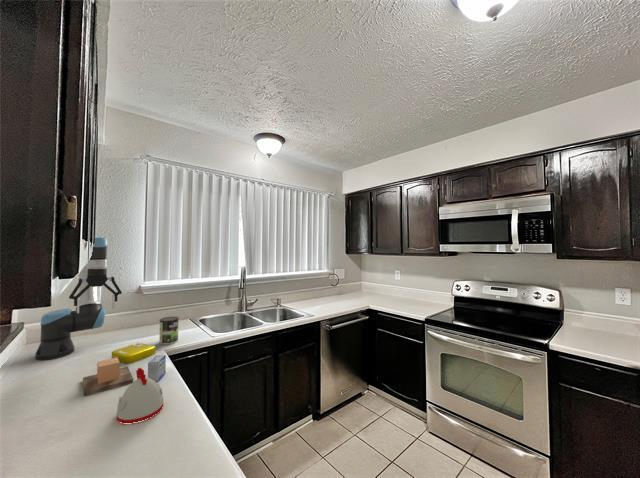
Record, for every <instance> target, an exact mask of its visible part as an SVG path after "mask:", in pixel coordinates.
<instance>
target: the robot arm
mask: <svg viewBox="0 0 640 478" xmlns="http://www.w3.org/2000/svg"><path fill="white" fill-rule="evenodd" d="M94 238H95V245H94V247H93V252H92V256H91V258H90V260H89V261H88V264H87V265H86V266H85V267H84V269H83V270H82V271H81V272H80V274H79V273H78V283H77V284H76V285H75V287H74V288H73V290H72V292H71V293H70V294H69V296H68V299H70V300H73V306H74V307H75V310H72V309H71V308H63V309H61V308H60V309H57V310H53V311H49V312H46V313H45V314H43V315H42V316H41V319H40V321H41V322H40V341H39V342H40V343H39V345H38V348H37V349H36V352H35V354H34V355H35V356H34V358H35V360H37V361H46V360H54V359H58V358H62V357H66V356H68V355H70V354H73V353H74V352H75V345H74V342H73V340H72V337H71V334H72V333H75V332H81V331H87V330H94V329H98V328H101V327H102V326H103V325H104V323H105V317H106V311H107V310H106V307H105V306H103V304H102V303H101V302H100V301H99V287H102V286H104V288H106V289H107V290H108V291H109V292H111V294H113V295H112V299H111V300H112V301H111V303H112V304H111V306H112V307H111V308H112V309H113V310H115V306H116V304H115V302H118V296H119V295H121V294H122V291H121V289H120V287H119V285H118V284H117V282H116V280H115V277H114V276H113V275H112V276H110V277H108V276H107V273H108V268H107V267H108V260H107V259H108V245H109V243H108V238H107V237H94ZM108 281H109V282H111V283H112V285H113V286H114V288H115V290H116V291H115V290H114V289H113V288H111V287H110V286H109V285H108V283H107V282H108ZM77 292H78V293H77ZM76 293H77V294H76Z"/></svg>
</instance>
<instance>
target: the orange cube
mask: <svg viewBox="0 0 640 478" xmlns="http://www.w3.org/2000/svg"><path fill="white" fill-rule="evenodd" d="M96 364H97V365H96V366H97V367H96V370H97V371H96V374H97V380H98V384H100V383H104V382H108V381H111V380H115V379H119V368H120V362H119V360H118V357H116V358H112V357H111V358H108V359H103V360H99V361H97V363H96Z"/></svg>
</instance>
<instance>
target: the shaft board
mask: <svg viewBox="0 0 640 478" xmlns="http://www.w3.org/2000/svg"><path fill="white" fill-rule="evenodd" d="M133 382H134V378H133V375H132V373H131V371H130V368H129V366H125V367H124V366H123V367H119V379H115V380H111V381H108V382H104V383H100V384H98V380H97V373H96V374H92V375H88V376H84V377H82V387H83V388H82V389H83V397H87V396H90V395H93V394H97V393H101V392H104V391H107V390H111V389H115V388H118V387H121V386H125V385H129V384H132V383H133Z"/></svg>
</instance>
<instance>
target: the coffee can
mask: <svg viewBox="0 0 640 478" xmlns="http://www.w3.org/2000/svg"><path fill="white" fill-rule="evenodd" d="M179 318H180V317H179V316H165V317H162V318H160V319H159V344H160V345H171V344H175V343H177V342H178V341H179Z"/></svg>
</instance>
